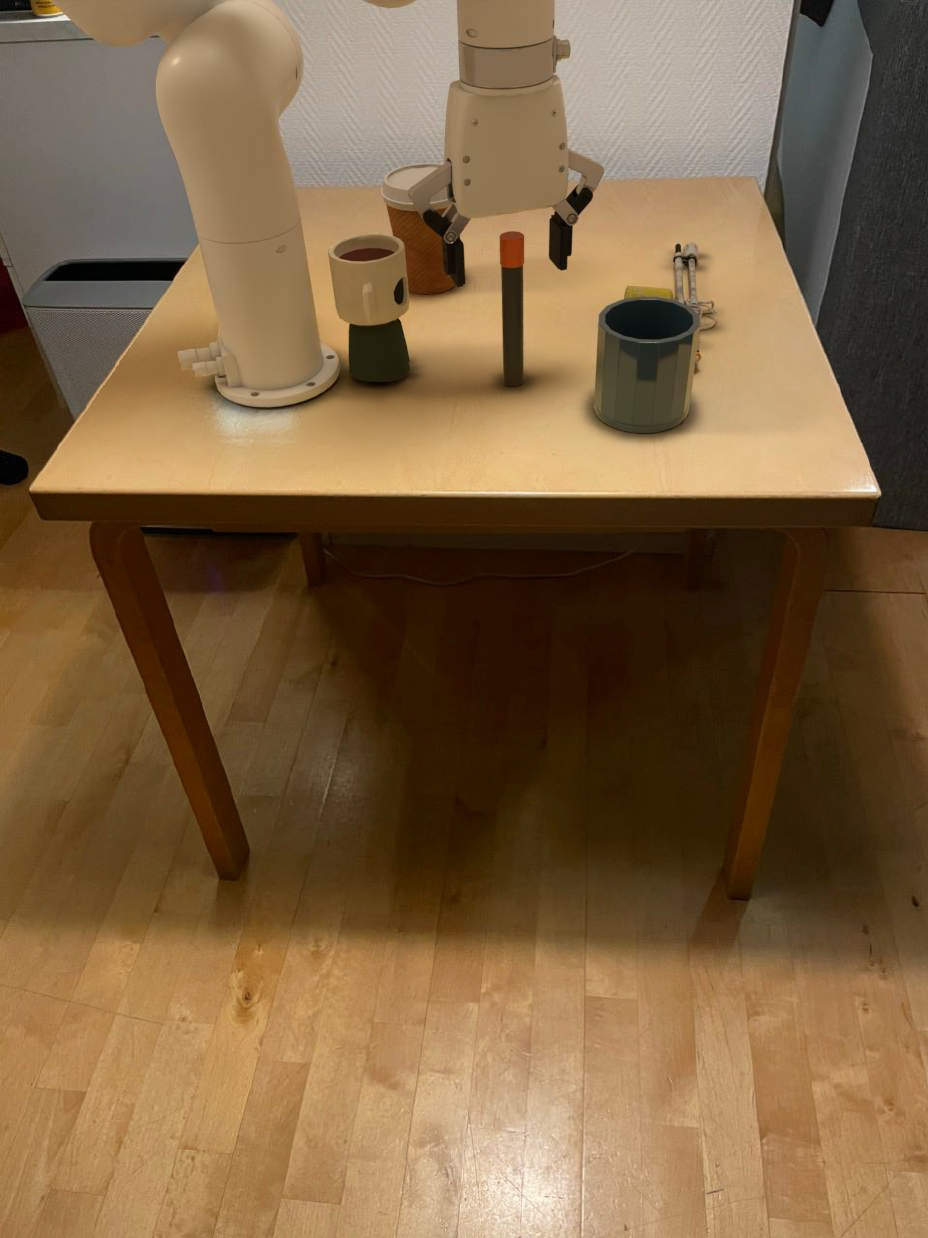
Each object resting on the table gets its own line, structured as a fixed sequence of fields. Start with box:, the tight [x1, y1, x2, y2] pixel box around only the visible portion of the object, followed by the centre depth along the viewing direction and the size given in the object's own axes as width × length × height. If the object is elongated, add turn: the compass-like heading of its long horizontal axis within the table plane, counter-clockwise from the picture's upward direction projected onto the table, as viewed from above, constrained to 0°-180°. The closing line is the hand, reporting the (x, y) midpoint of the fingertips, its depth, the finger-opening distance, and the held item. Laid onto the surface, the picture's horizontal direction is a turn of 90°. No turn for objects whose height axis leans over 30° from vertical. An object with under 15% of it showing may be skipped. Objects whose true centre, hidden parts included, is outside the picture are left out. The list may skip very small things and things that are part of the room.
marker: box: [499, 230, 525, 387], centre depth 91 cm, size 2×2×14 cm
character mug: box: [327, 232, 411, 383], centre depth 94 cm, size 11×7×13 cm, turn 3°
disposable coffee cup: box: [379, 162, 461, 295], centre depth 110 cm, size 10×10×12 cm
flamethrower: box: [623, 241, 719, 363], centre depth 105 cm, size 29×3×10 cm
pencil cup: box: [593, 297, 701, 434], centre depth 89 cm, size 9×9×9 cm
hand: (507, 272), depth 89 cm, fingers open, 9 cm apart
